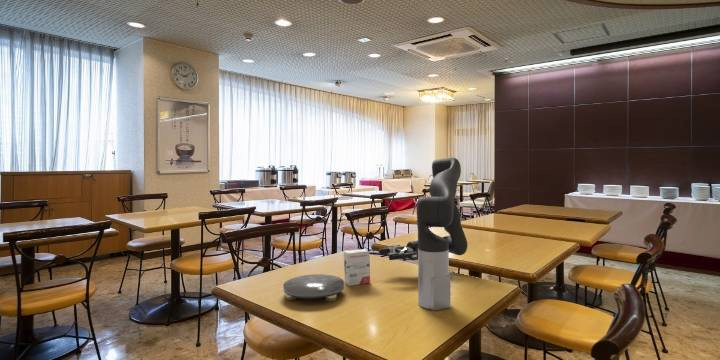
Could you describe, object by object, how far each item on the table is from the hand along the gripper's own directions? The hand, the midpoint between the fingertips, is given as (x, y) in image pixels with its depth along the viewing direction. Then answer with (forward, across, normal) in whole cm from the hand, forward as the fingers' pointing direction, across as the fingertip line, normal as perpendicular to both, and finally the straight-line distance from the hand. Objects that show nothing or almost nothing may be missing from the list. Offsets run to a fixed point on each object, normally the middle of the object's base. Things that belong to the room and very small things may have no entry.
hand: (384, 254), depth 144 cm
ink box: (+11, 0, +9) cm, 15 cm away
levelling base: (+29, +6, +9) cm, 31 cm away
